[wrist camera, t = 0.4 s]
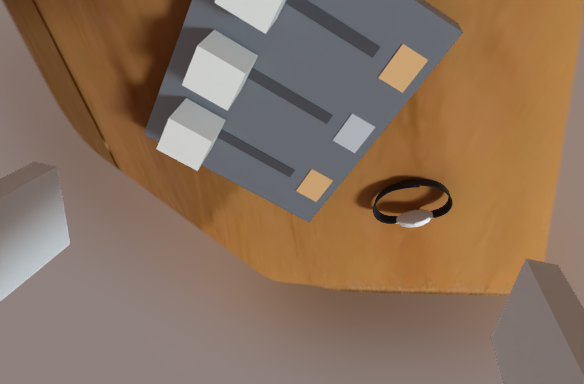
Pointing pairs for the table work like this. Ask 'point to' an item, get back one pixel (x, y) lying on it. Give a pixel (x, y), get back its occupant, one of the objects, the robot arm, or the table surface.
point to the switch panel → (308, 90)
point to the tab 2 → (254, 11)
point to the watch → (413, 216)
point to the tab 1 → (190, 134)
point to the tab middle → (219, 69)
